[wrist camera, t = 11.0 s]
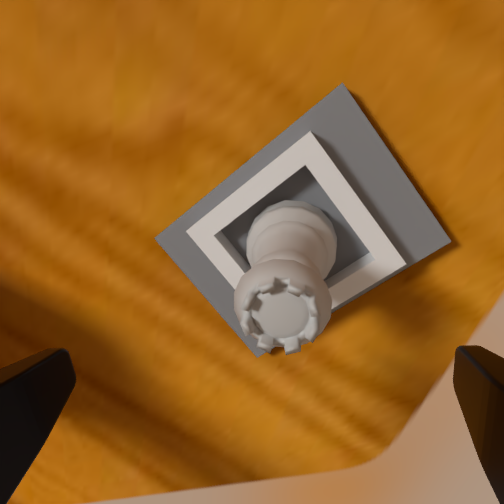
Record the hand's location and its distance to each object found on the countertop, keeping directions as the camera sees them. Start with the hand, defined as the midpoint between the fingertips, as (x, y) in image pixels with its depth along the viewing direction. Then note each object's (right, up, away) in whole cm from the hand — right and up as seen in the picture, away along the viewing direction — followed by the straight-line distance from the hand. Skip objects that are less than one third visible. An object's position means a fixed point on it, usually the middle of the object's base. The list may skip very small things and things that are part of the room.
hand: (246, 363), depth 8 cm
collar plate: (+2, +4, +11) cm, 12 cm away
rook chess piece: (+2, +3, +10) cm, 11 cm away
